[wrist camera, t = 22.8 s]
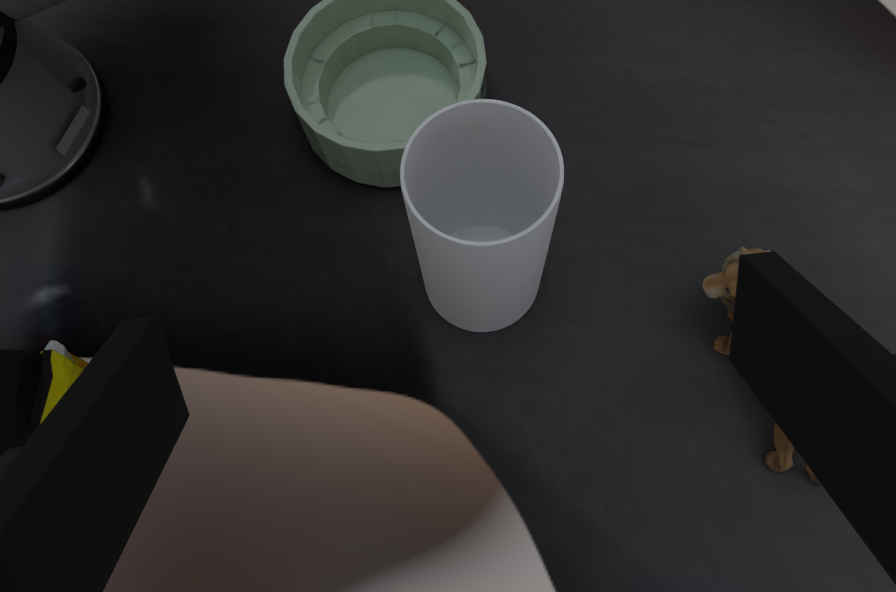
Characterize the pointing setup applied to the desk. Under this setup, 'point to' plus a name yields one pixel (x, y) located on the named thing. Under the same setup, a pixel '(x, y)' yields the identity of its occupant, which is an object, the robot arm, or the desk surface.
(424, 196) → the cup
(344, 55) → the ceramic bowl
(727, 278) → the lion figurine
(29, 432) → the yellow pouch
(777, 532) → the desk surface
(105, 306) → the desk surface
